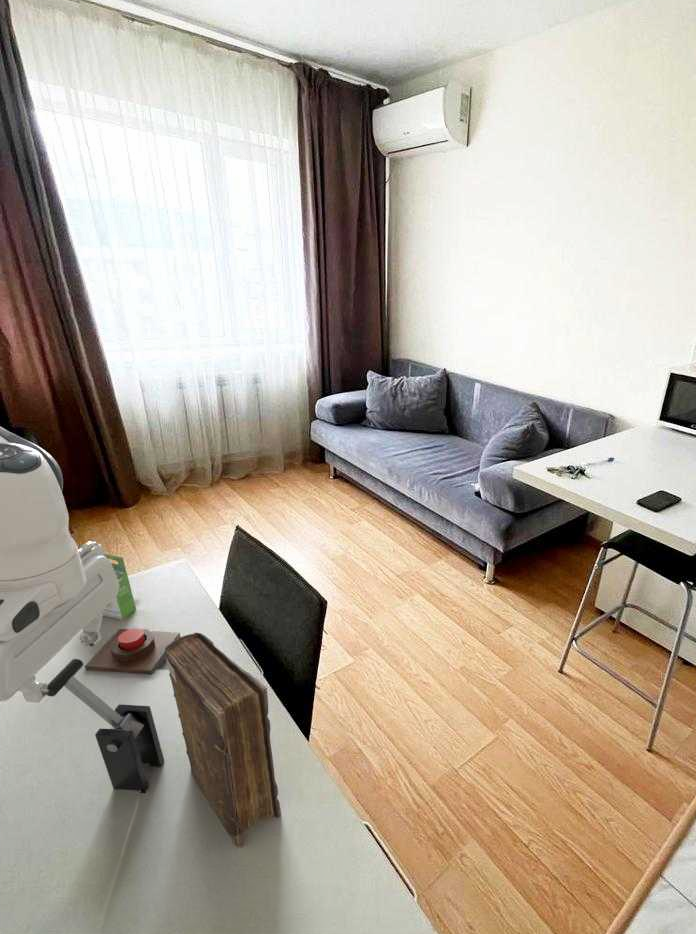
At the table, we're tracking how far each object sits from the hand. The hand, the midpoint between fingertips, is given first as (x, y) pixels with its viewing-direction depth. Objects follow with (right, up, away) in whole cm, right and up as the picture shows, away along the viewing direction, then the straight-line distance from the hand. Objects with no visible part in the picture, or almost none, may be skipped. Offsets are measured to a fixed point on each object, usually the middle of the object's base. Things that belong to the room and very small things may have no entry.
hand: (66, 668), depth 63 cm
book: (+18, -22, +8) cm, 29 cm away
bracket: (+4, -20, +9) cm, 22 cm away
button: (-10, -6, +29) cm, 31 cm away
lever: (+1, -7, +3) cm, 7 cm away
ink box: (-22, -3, +42) cm, 47 cm away
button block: (-11, -9, +31) cm, 34 cm away
